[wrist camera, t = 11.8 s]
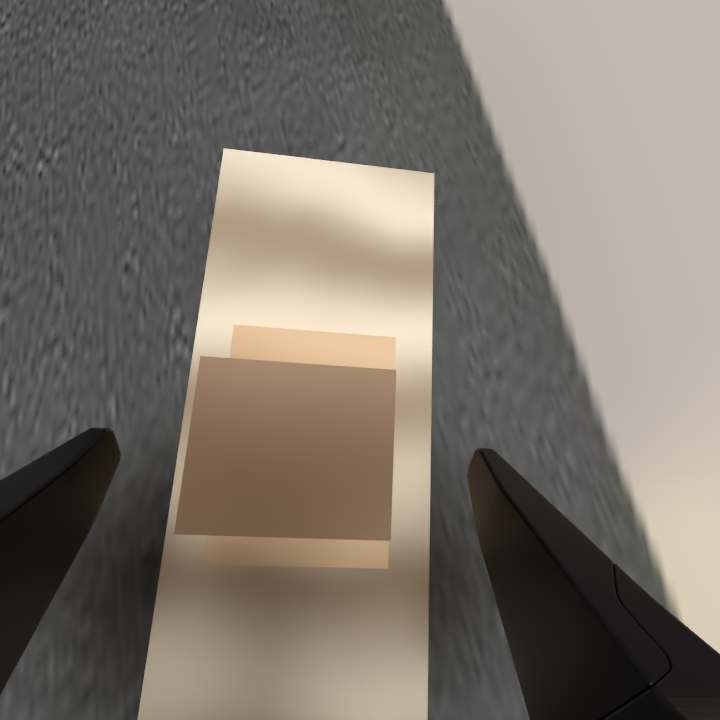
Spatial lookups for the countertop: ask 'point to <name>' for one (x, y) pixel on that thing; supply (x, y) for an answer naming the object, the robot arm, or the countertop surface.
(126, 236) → the countertop surface
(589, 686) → the robot arm
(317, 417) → the block
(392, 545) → the board
